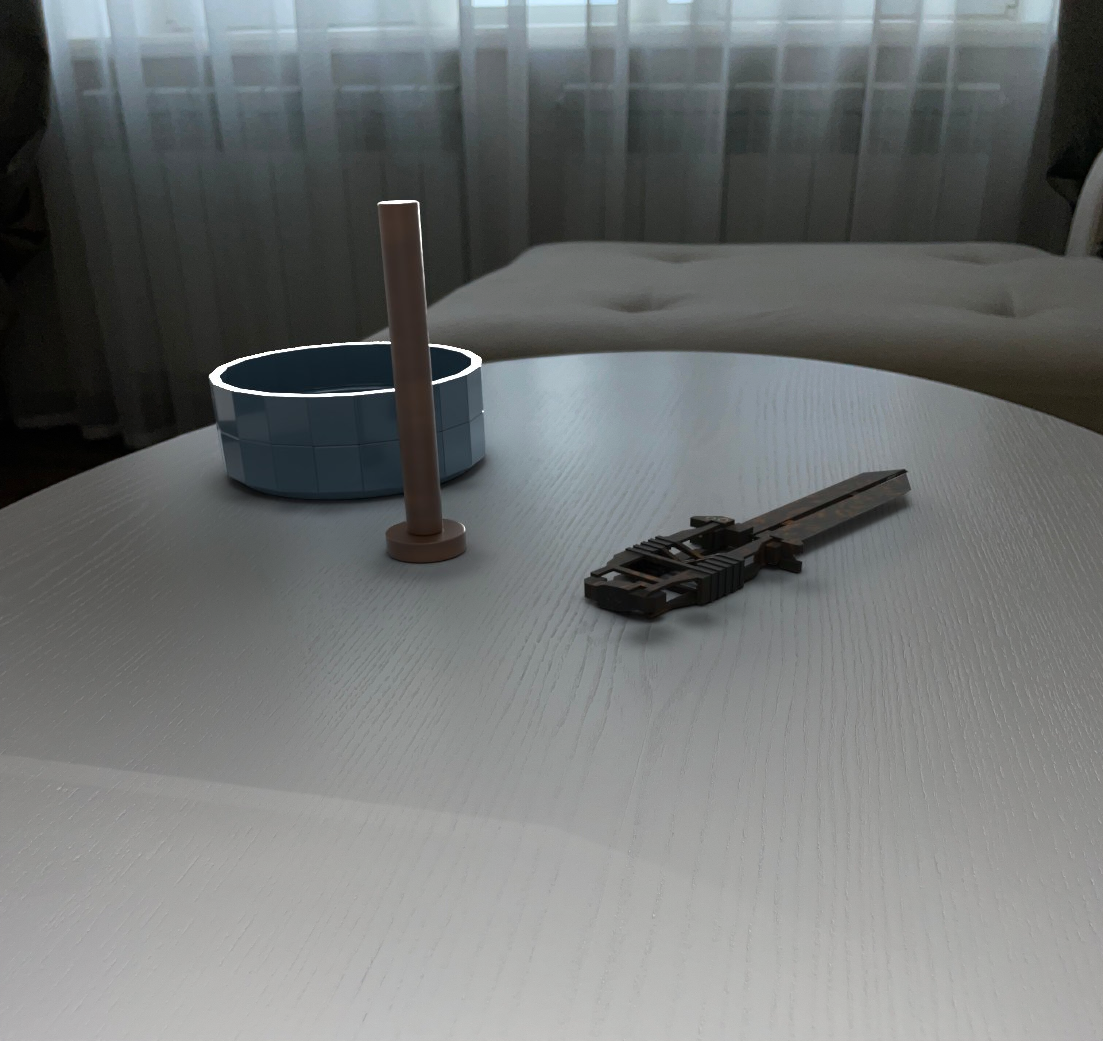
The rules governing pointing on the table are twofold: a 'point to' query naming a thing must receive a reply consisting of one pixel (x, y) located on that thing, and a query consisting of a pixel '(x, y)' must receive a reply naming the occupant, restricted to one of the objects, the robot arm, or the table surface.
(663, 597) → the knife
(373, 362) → the bowl
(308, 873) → the table surface
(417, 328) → the stirrer
